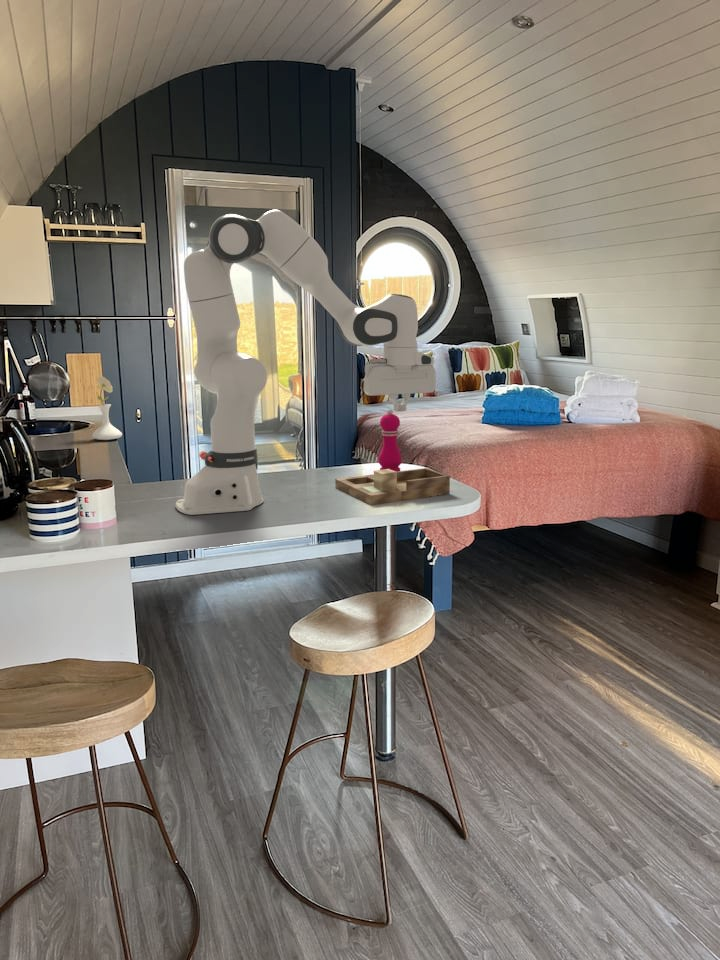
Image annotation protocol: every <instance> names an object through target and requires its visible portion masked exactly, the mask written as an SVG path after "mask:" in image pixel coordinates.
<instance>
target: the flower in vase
mask: <svg viewBox="0 0 720 960" xmlns="http://www.w3.org/2000/svg"><path fill="white" fill-rule="evenodd" d="M96 380H97V384H98V385H99V386H100V387H101V389H100V394H98V395H97V400H98V401H99V400H100V401H101V402H102V404H98V405H97V406H98V407H99V409H100V411H101V414H102V424H101V425H100V426H99V427H98V428H97V429H96V430H95V431H94V432H93V433H92V434H91V435H92V437H91V438H93V439H95V440H99V441H111V440H115V439H119V438H121V437H122V436H123V433H122V432H121V431H120V430H119V429H118V428H116V427H115V426H114V425H113V424H112V423H110V419H109V417H110V416H109V415H110V414H109V413H110V412H109V411H110V409H111V406H112V404H110V403H104V401H106V400H107V399H109V395H107V397H105V398H104V399H102V392H103V390H104V391H105V392H107V393H109V394H111V393H112V392H113V391H114V390H113V389H114V387H113V386H112V384H111V381H110V380H108V379H107V378H105V376H101V375H99V376H98V377H97V378H96Z"/></svg>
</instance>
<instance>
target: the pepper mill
mask: <svg viewBox="0 0 720 960" xmlns="http://www.w3.org/2000/svg"><path fill="white" fill-rule="evenodd" d="M386 413H387V414H384V415H383V416H382V417H381V418H380V420H379V425H380V427H381V429H382V430H381V435H382V437H383V440H382V442H383V444H382V447H381V450H380V453H379V454H378V457H377V458H378V459H377V461H378V465H380V468H379V470H383V469H390V470H393V471H396V472H397V471H401V468H400V466H401V465H402V461H403V458H402V457H403V456H402V454H401V452H400V449H399V447H398V443H397V438H398V435H399V429H398V428H399V427H400V426H401V420H400V418H399V416H398V415H397V414H396V415H395V414H394V409H392V408H388V409H387V410H386Z"/></svg>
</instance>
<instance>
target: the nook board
mask: <svg viewBox="0 0 720 960" xmlns="http://www.w3.org/2000/svg"><path fill="white" fill-rule="evenodd" d="M334 483H335V488H336V489H338V490H340V491H342V492H343V493H345V494H348V495H350V496H352V497H354V498H356V499H358V500H360V501H363V502H364V503H366V504H368V505H371V506H372V505H381V504H387V503H395V502H401V501H410V500H415V499H422V498H423V497H424V498H430V497H429V496H432V497H438V496H437V495H439V496H444V495H443V494H446V495H449V494H448V493H450V494H451V491H450V488H451V487H450V486H451V475H448V474H445V473H442V472H439V471H437V470H433V469H431V468H428V467H424V468H423V467H422V468H416V469H408V470H400V471H397V488H396V489H389V490H380V489H377V488H375V487H374V473H373V474H366V475H358V476H357V475H356V476H350V477H340V478H335V482H334ZM424 498H423V499H424Z"/></svg>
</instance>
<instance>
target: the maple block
mask: <svg viewBox="0 0 720 960" xmlns="http://www.w3.org/2000/svg"><path fill="white" fill-rule="evenodd" d="M373 474H374V487H375V488H377V489H380V490H389V489H396V488H397V472H396V471H393V470H390V469H383V470H380V469H375V470H373Z"/></svg>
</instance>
